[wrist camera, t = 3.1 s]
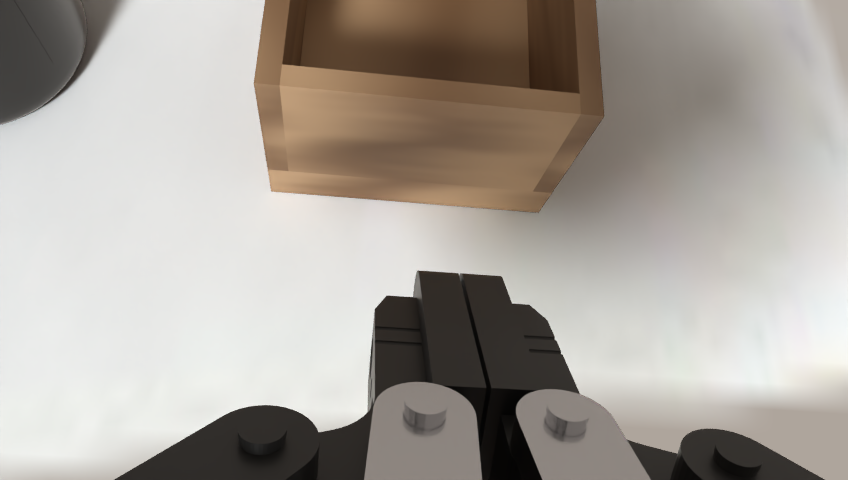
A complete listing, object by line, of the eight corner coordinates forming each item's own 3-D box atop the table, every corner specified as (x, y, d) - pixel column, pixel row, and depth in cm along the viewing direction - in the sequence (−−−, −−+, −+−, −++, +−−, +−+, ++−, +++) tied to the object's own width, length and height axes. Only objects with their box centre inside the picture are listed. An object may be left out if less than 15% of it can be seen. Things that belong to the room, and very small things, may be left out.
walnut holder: (271, 191, 23) (253, 82, 17) (297, -26, 26) (289, -177, 20) (538, 212, 23) (603, 116, 18) (531, 0, 27) (585, -137, 21)
